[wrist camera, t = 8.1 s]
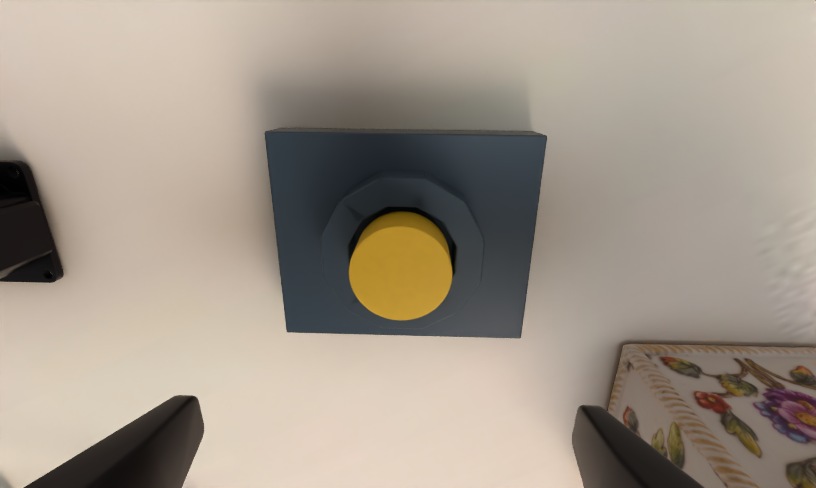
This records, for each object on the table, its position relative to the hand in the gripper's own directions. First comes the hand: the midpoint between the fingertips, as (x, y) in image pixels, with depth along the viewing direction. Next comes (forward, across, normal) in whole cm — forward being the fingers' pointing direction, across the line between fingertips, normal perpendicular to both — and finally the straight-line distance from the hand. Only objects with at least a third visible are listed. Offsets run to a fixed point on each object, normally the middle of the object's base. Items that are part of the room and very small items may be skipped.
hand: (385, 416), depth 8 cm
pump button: (+9, 0, 0) cm, 9 cm away
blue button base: (+13, 0, 0) cm, 13 cm away
